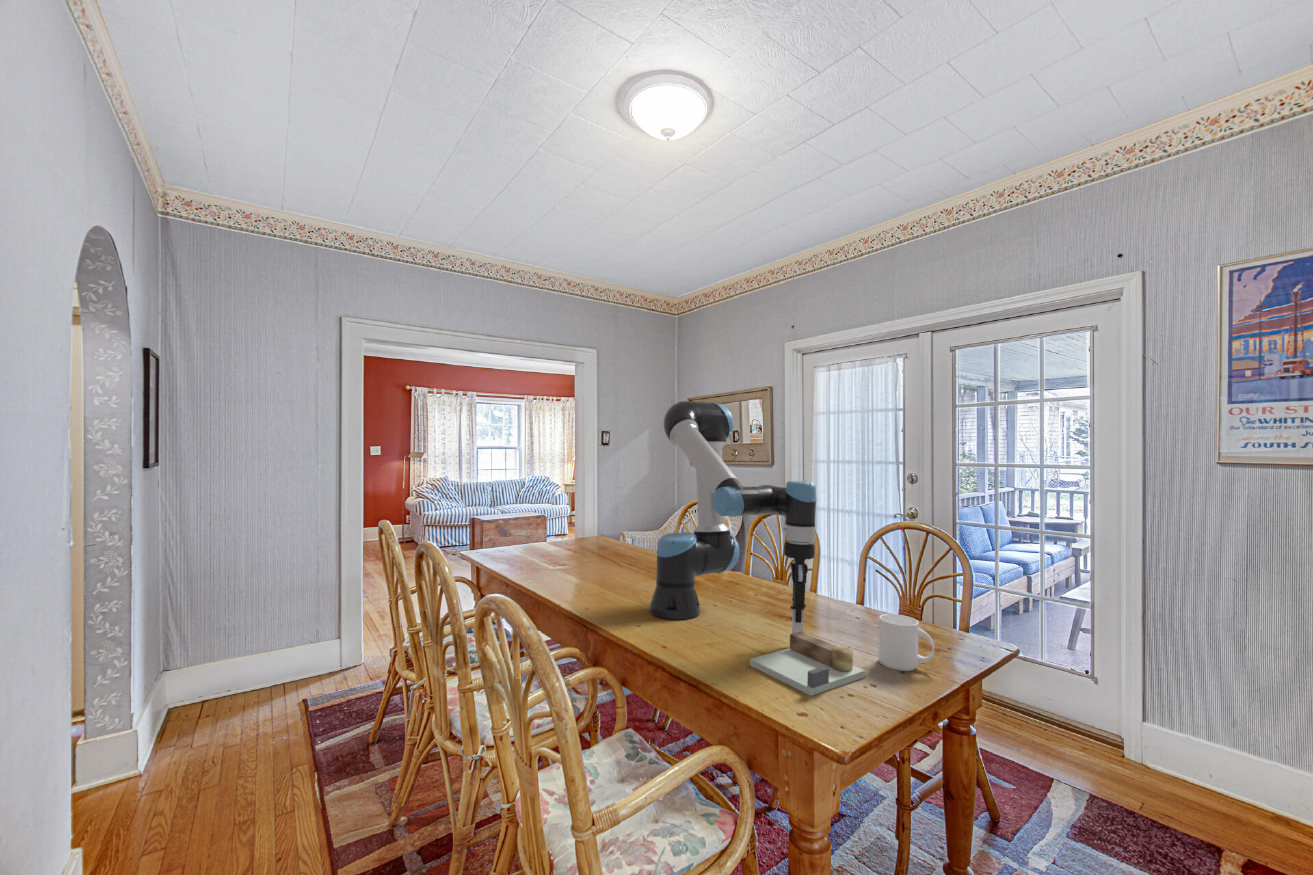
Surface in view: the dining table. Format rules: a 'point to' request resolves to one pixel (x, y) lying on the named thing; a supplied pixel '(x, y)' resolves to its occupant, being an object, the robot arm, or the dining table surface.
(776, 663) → the seat board
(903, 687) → the dining table surface
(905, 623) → the mug
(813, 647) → the leg
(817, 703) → the dining table surface
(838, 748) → the dining table surface
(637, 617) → the dining table surface
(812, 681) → the block
